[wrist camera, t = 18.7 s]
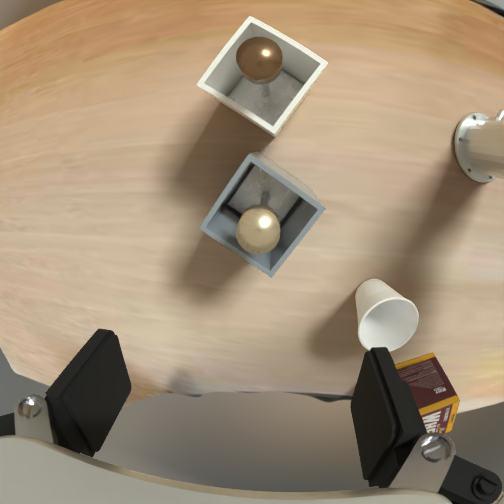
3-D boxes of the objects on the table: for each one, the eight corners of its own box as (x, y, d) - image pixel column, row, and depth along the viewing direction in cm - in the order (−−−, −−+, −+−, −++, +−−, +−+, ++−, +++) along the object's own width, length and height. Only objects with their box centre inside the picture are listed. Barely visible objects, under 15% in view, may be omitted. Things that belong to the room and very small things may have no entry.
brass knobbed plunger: (258, 160, 44) (246, 171, 26) (302, 191, 45) (320, 224, 27) (228, 203, 47) (197, 242, 29) (271, 232, 48) (268, 289, 30)
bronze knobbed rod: (259, 57, 39) (247, 4, 21) (304, 86, 40) (323, 48, 22) (228, 99, 42) (195, 70, 23) (273, 128, 43) (271, 116, 24)
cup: (337, 312, 53) (348, 349, 43) (354, 262, 50) (372, 292, 40) (385, 320, 53) (403, 356, 43) (404, 273, 50) (429, 302, 40)
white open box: (257, 52, 40) (249, 15, 26) (312, 87, 41) (328, 63, 27) (220, 102, 43) (196, 85, 29) (275, 137, 44) (274, 134, 30)
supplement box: (367, 371, 58) (384, 427, 43) (433, 351, 55) (461, 400, 41) (369, 402, 61) (383, 454, 46) (430, 383, 59) (453, 430, 44)
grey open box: (257, 150, 45) (249, 153, 31) (310, 188, 47) (325, 208, 33) (221, 203, 48) (198, 228, 34) (273, 238, 50) (271, 277, 36)
